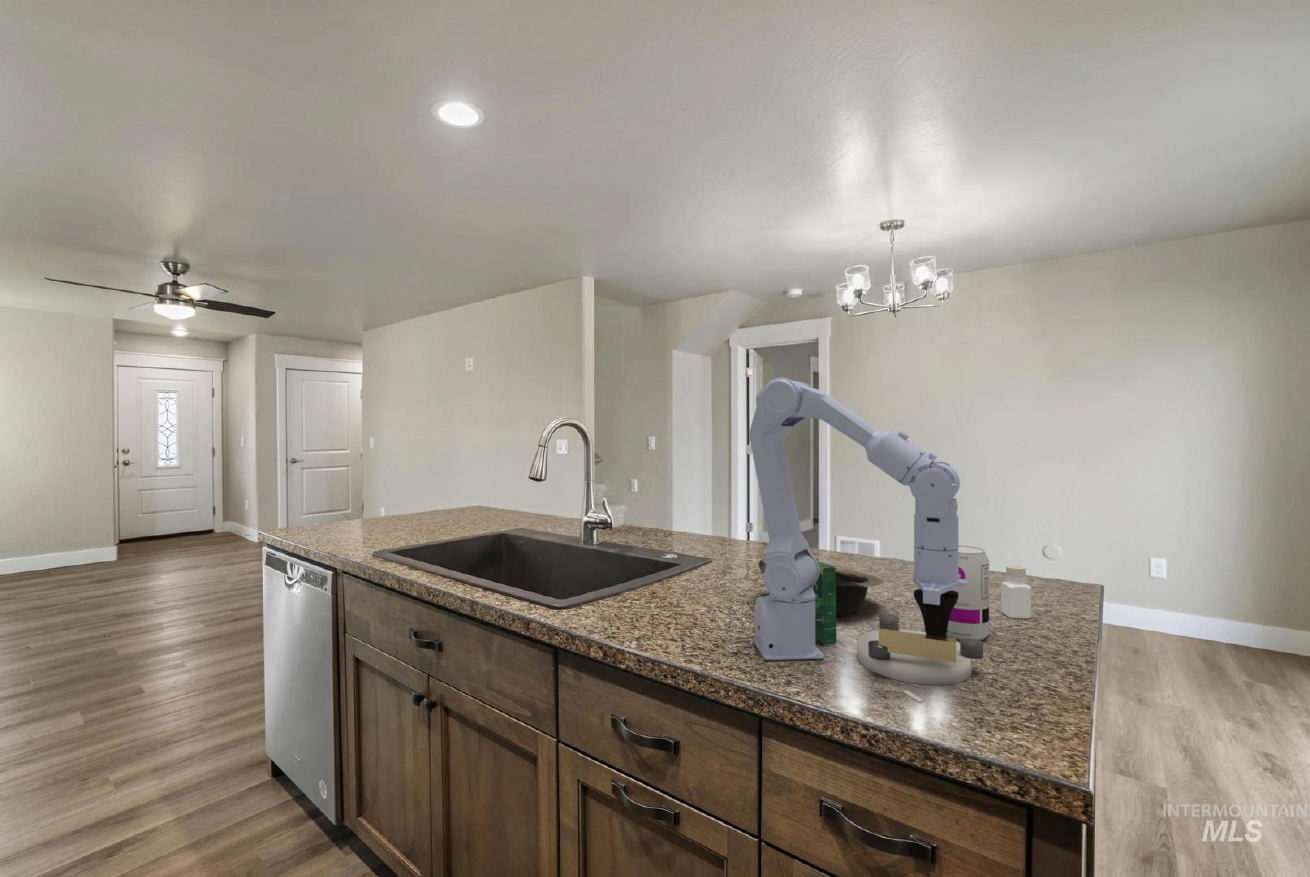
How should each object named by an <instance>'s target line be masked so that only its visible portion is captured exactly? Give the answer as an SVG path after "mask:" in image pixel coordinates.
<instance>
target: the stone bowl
mask: <svg viewBox="0 0 1310 877" xmlns="http://www.w3.org/2000/svg"><path fill="white" fill-rule="evenodd" d="M758 567H759V568H758V569H759V570H760V573H761V574H763V575H764V573H765V569H766V562H764V561H763V560H762V559H761V560H759V561H758ZM884 582H885V581H884V579H883V578H880V577H877V576H875V575H872V574H867V573H864V572H860V571H857V570H852V569H841V568H838V567H836V616H845V617H847V616H850V615H852V614H853V613H857V612H858V611H859V609H861V606H862V604H863V603H864V601H865V599H866V596H867V593H868V589H869V588H873V587H876V586H879V585H880V584H884Z"/></svg>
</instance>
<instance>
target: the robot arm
mask: <svg viewBox="0 0 1310 877" xmlns="http://www.w3.org/2000/svg"><path fill="white" fill-rule="evenodd" d="M755 403H756V406H755V412H754V414H753V418H752V422H751V423H750V428H749V441H750V447H751V451H752V453H751V454H752V457H753V462H754V468H755V473H756V478H757V482H758V489H759V494H760V498H761V503H762V509H763V513H764V518H765V519H764V520H765V524H766V529H767V535H768V543H767V546H766V550H765V552H764V557H765V564H766V569H765V573H764V574H763V583H764V585H765V587H766V589H767V591H768V592H769V595H765V596H759V597H756V599H755V604H754V641H753V643H754V644H755V646H756V647H757V650H758V651H759V652H760V655H761V656H762V658H763V660H766V661H772V660H773V661H782V660H783V661H784V660H813V659H814V660H816V659H819V660H820V659H822V660H823V659H825V654H824V653H823V652H822V651H821V650H820V649H819V648H818V647H817V646H816V640H815V593H814V590H813V585H814V584H815V583H816V582H817V580H818V578H819V573H820V570H819V565H818V563H817V561H818V560H817V559H816V558H815V557H814V556H813V553H812V551H811V548H810V544H809V542H808V540H807V539H806V538H805V537H804V535H803V534H802V531H801V525H800V520H799V514H798V510H797V505H796V500H795V495H794V490H793V484H792V480H791V475H790V471H789V470H790V469H789V465H788V459H787V453H786V449H785V445H784V440H785V438H786V437H787V436H788V435H789V433H791V431H792V429H793V428H794V426H796V425H797V424H798V423H800V422H801V421H803V420H805V419H807V418H808V419H816V420H821V421H823V422H825V423H826V424H827V425H829V426H831V427H832V428H834V429H835V430H837V431H839V432H840V433H841V434H843V435H845V436H846V437H848V438H849V439H851V440H853V441H854V442H856V443H857V444H859V445H860V446H862V447H863V448H864V449H865V451H866V457H867V460H868V462H869V463H872V464H873V465H874V466H875V467H877V468H878V469H879V470H880V471H882V472H884V473H885V474H886V475H889V477H890V478H892V479H893V480H895V481H896V482H898V483H899V484H900V485H903V486H907V487H908V486H909V489H910V493H911V494H912V496H913V498H914V500H915V501H914V502H915V504H914V506H915V507H914V508H915V512H914V515H913V551H914V552H913V562H914V563H913V564H914V565H913V571H914V572H913V575H912V582H913V583H914V585H916V586H917V587H918V588H917V589H915V590H914V591H913V598H914V601H916V604H917V605H918V608H919V610H920V612H921V616H922V620H923V626H924V630H925V631H924V632H925V633H926V635H933V636H940V637H947V636H946V635H947V629H948V623H949V618H950V614H951V612H952V609H953V608H954V606H955V604H956V602H957V600H958V596H959V593H958V592H956V591H951V590H953V589H955V588H958V587H968V581H967V580H965V579H958V545H959V515H958V513H957V512H958V508H959V507H958V506H959V505H958V501H957V500H958V499H957V498H956V495H957V493H958V492H959V490H960V486H961V481H960V477H959V474H958V472H957V471H956V470H955V469H954V468H953V466H951V465H950V464H949V463H948V462H945V461H939V460H938V461H937V458H938V455H937V454H936V453H934V452H932V451H931V452H929V453H928V452H926V451H924V450H923V449H922V448H920V447H919V446H917V445H916V444H915V443H913V442H911V441H909V439H908V438H909V435H908V434H907V433H905V432H904V431H902V430H901V431H899V432H897V431H895V430H893V429H886V430H881V431H880V430H878V429H876V428H875V427H874V426H872V425H871V424H869V423H868V422H867V421H865V420H864V419H863V418H862V417H860V416H858V415H857V414H856V413H854V412H853V411H852V410H850V409H849V408H847V406H845V405H843V404H842V403H841V402H840V401H838V400H837V399H835V398H834V397H833V396H831V395H829V394H827V393H826V392H824V391H822V390H820V389H817V388H814V387H812V385H810V384H809V383H806V382H804V381H801V380H800V381H799V380H798V381H795V380H791V379H789V378H788V377H787V378H786V377H775V378H773V379H771V380H769V381H768V382H767V383H766V384H765V385H764V386H763V388H762V389H761V390H760V391H759V392H758V393H757V395H756V397H755Z"/></svg>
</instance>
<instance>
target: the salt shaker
mask: <svg viewBox="0 0 1310 877" xmlns="http://www.w3.org/2000/svg"><path fill="white" fill-rule="evenodd" d="M1026 569H1027V568H1026V567H1024V566H1022V565H1013V564H1011V565H1006V566H1005V576H1006V581H1003V582H1001V583H1000V596H1001V599H1000V603H1001V604H1000V606H1001V608H1000V610H1001V613H1002V614H1003V615H1004V616H1006V617H1008V618H1010V619H1023V620H1026V619H1027V620H1028V619H1031V617H1032V587H1031V586H1030V585H1029V584H1028V583H1026V576H1027V575H1026V573H1027V570H1026Z"/></svg>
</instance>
